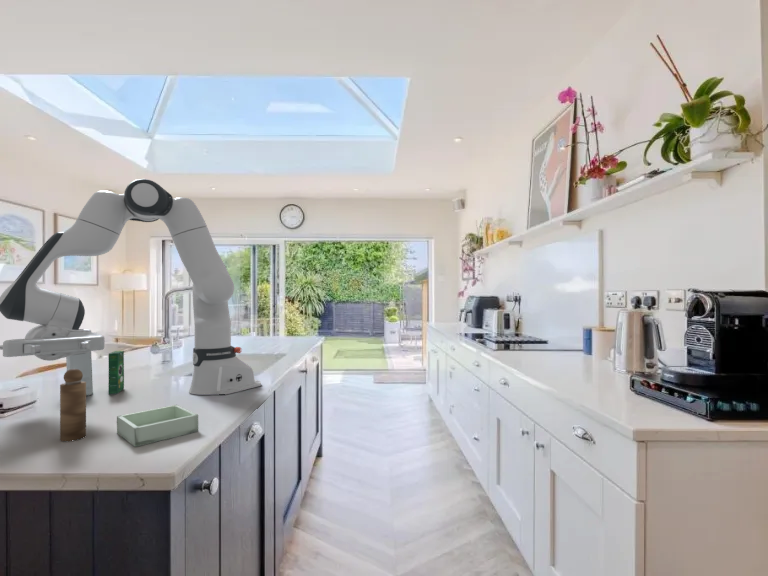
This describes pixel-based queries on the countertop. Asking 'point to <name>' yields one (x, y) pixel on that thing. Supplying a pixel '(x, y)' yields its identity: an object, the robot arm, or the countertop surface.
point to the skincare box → (82, 368)
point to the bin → (156, 424)
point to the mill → (72, 406)
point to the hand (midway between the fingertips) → (61, 347)
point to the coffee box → (116, 372)
